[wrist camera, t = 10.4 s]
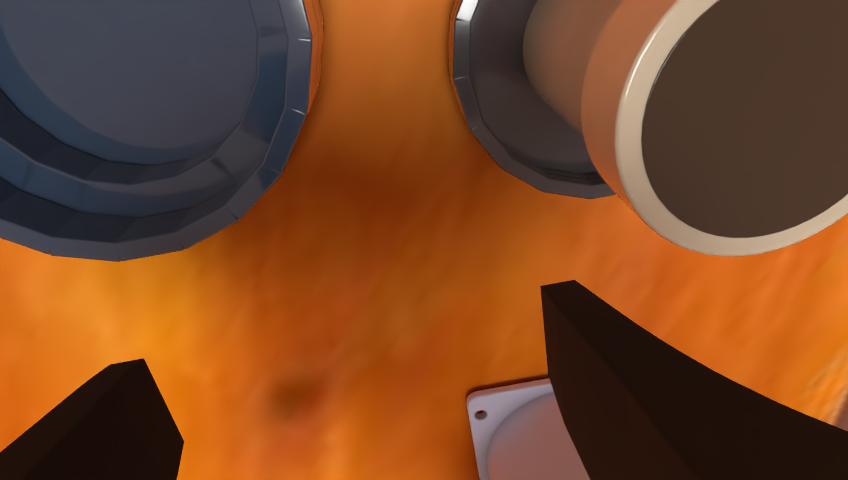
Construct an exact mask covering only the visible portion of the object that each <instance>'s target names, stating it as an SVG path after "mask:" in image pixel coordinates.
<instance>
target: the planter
mask: <svg viewBox="0 0 848 480" xmlns="http://www.w3.org/2000/svg"><path fill="white" fill-rule="evenodd" d="M322 23H323V16H322V12H321V8H320V3H319V0H0V238H2V239H5V240H8V241H11V242H14V243H17V244H20V245H23V246H26V247H28V248H31V249H34V250H37V251H40V252H43V253H46V254H51V255H52V256H62V257H73V258H84V259H95V260H105V261H116V262H120V261H126V260H132V259H137V258H143V257H148V256H154V255H159V254H165V253H170V252H176V251H181V250H184V249H187V248H189V247H191V246H193V245H195V244H197V243H199V242H201V241H202V240H204V239H206V238H208V237H210V236H212V235H214V234H216V233H217V232H219V231H221V230H223V229H225V228H227V227H229V226H231V225H232V224H234V223H236V222H238V221H239V219H242V218H243V217H244V216H245V215H246V214H247V212H248V211H249V210H250V209H251V208H252V207H253V206H254V205H255V204H256V203H257V202H258V200H259V199H260V198H261V197H262V196H263V195H264V194H265V193H266V192H267V191H268V190H269V188H270V187H271V186H272V185H273V184H274V183H275V182H276V181H277V180H278V179H279V178H280V176H281V174H282V173H283V172H284V170H285V167H286V165H287V162H288V160H289V158H290V155H291V153H292V151H293V148H294V146H295V143H296V141H297V139H298V136H299V134H300V132H301V129H302V127H303V124H304V122H305V120H306V117H307V115H308V112H309V110H310V108H311V105H312V103H313V100H314V98H315V96H316V93H317V91H318V88H319V83H320V72H321V58H322V43H323V29H324V26H323V24H322Z"/></svg>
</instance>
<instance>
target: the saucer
mask: <svg viewBox="0 0 848 480" xmlns="http://www.w3.org/2000/svg"><path fill="white" fill-rule="evenodd" d="M536 2H537V0H455V1H454V4H453V8H452V12H451V17H450V26H449V38H448V56H449V72H450V73H449V75H450V78H451V81H452V84H453V88H454V91H455V94H456V97H457V100H458V103H459V106H460V108H461V111H462V114H463V118H464V120H465V122H466V124H467V126H468V128H469V130H470V132H471V133H472V134H473V135H474V137H475V138H476V139H477V140H478V141H479V143H480V144H481V145H482V146H483V148H484V149H485V150H486V151H487V153H488V154H489V155H490V156H491V157H492V159H493V160H494V161H495V162H496V164H497V165H498V166H499V167H500V168H501V169H502V170H504V171H506V172H508V173H509V174H511V175H513V176H515V177H517V178H518V179H520V180H522V181H524V182H525V183H527V184H529V185H531V186H533V187H534V188H536V189H538V190H540V191H543V192H546V193H553V194H559V195H566V196H572V197H579V198H586V199H594V198H600V197H605V196H611V195H616V193H615V192H614V191H613V190H612V189H611V188H610V187H609V186H608V185H607V183H606V182H605V181H604V180H603V179H602V178H601V176H600V174H599V173H598V171H597V170H596V168H595V166H594V165H593V163H592V160H591V158H590V156H589V153H588V151H587V148H586V144H585V140H584V138H583V137H582V136H581V135H580V134H579V133H578V132H577V131H575V130H574V129H573V128H572V127H571V126H570V125H569V124H568V123H567V122H565V121H564V120H563V119H562V118H561V117H560V116H559V115H558V114H557V113H555V112H554V111H553V110H552V109H551V108H550V107H549V106H548V105H547V104H546V103H544V102H543V101H542V100H541V98H540V97H539V96H538V95H537V94H536V92H535V91H534V89H533V87H532V86H531V84H530V82H529V79H528V77H527V74H526V70H525V67H524V60H523V39H524V33H525V28H526V24H527V21H528V19H529V16H530V13H531V11H532V9H533V7H534V5H535V3H536Z"/></svg>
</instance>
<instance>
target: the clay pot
mask: <svg viewBox="0 0 848 480" xmlns="http://www.w3.org/2000/svg"><path fill="white" fill-rule="evenodd" d="M523 60H524V67H525V70H526V74H527V77H528V79H529V82H530V84H531V86H532V87H533V89H534V91H535V92H536V94H537V95H538V96H539V97H540V98H541V100H542V101H543V102H544V103H546V104H547V105H548V106H549V107H550V108H551V109H552V110H553V111H554V112H555V113H557V114H558V115H559V116H560V117H561V118H562V119H563V120H564V121H565V122H567V123H568V124H569V125H570V126H571V127H572V128H573V129H574V130H575V131H577V132H578V133H579V134H580V135H581V136H582V137H583V138H584V140H585V144H586V148H587V151H588V153H589V156H590V158H591V160H592V163H593V165H594V166H595V168H596V170H597V171H598V173H599V174H600V176H601V178H602V179H603V180H604V181H605V182H606V183H607V185H608V186H609V187H610V188H611V189H612V190H613V191H614V192H615V193H616V194H617V195H618V196H619V197H620V198H621V199H622V200H623V201H624V202H625V203H626V204H627V205H628V206H629V207H630V208H631V209H632V210H633V211H634V212H635V213H636V215H637V216H638V217H639V218H640V219H641V220H642V221H643V222H644V223H645V224H646V225H648V226H649V227H650V228H651V229H652V230H653V231H655V232H656V233H657V234H658V235H660V236H661V237H663V238H665V239H666V240H668V241H670V242H671V243H673V244H675V245H678V246H680V247H683V248H685V249H687V250H691V251H695V252H699V253H703V254H709V255H717V256H746V255H754V254H761V253H765V252H769V251H773V250H778V249H781V248H783V247H786V246H789V245H792V244H795V243H797V242H800V241H802V240H804V239H806V238H808V237H810V236H813V235H815V234H817V233H818V232H820V231H822V230H823V229H825V228H827V227H829V226H830V225H832V224H834V223H835V222H836V221H838V220H839V219H841V218H842V217H843V216H845V215H846V214H848V0H537V2H536V3H535V5H534V7H533V9H532V11H531V13H530V16H529V19H528V21H527V24H526V28H525V33H524V39H523Z"/></svg>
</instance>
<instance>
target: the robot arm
mask: <svg viewBox="0 0 848 480" xmlns="http://www.w3.org/2000/svg"><path fill="white" fill-rule="evenodd" d="M541 297H542V308H543V319H544V331H545V342H546V354H547V365H548V376H549V378H547V379H542V380H536V381H531V382H525V383H519V384H514V385H508V386H503V387H497V388H492V389H486V390H480V391H476V392H473V393H471V394H470V395H468V397H467V399H466V404H467V410H468V416H469V421H470V427H471V433H472V439H473V444H474V450H475V456H476V461H477V467H478V473H479V479H480V480H848V431H845V430H843V429H840V428H837V427H835V426H833V425H830V424H828V423H825V422H823V421H820V420H818V419H815V418H813V417H810V416H808V415H805V414H803V413H801V412H798V411H796V410H794V409H791V408H789V407H787V406H785V405H782V404H780V403H778V402H776V401H773V400H771V399H769V398H767V397H765V396H763V395H761V394H759V393H757V392H755V391H753V390H751V389H749V388H747V387H745V386H742V385H740V384H738V383H736V382H734V381H732V380H730V379H728V378H726V377H724V376H723V375H721V374H719V373H717V372H715V371H713V370H711V369H709V368H708V367H706V366H704V365H703V364H701V363H699V362H697V361H696V360H694V359H692V358H690V357H689V356H687V355H685V354H683V353H682V352H680V351H678V350H677V349H675V348H673V347H672V346H670V345H668V344H667V343H665V342H664V341H662V340H660V339H659V338H657V337H656V336H654V335H653V334H651V333H650V332H648V331H646V330H645V329H643V328H642V327H640V326H639V325H637V324H636V323H634V322H633V321H632V320H630V319H629V318H627V317H626V316H624V315H623V314H621V313H620V312H619V311H617V310H616V309H614V308H613V307H612V306H610V305H609V304H607V303H606V302H605V301H603V300H602V299H600V298H599V297H598V296H596V295H595V294H594V293H592V292H591V291H589V290H588V289H587V288H585V287H584V286H582V285H581V284H580V283H578V282H577V281H575V280H571V281H566V282H560V283H555V284H549V285H544V286H541ZM480 410H483V411H484V412H482V413H476V412H477V411H480ZM183 444H184V441H183V438H182V436H181V434H180V432H179V430H178V428H177V426H176V424H175V422H174V420H173V418H172V416H171V414H170V412H169V410H168V408H167V405H166V403H165V401H164V399H163V397H162V395H161V393H160V391H159V389H158V387H157V385H156V383H155V381H154V379H153V377H152V374H151V372H150V370H149V368H148V366H147V364H146V362H145V360H144V359H138V360H133V361H127V362H122V363H116V364H111V365H109V366H108V367H106V368H105V369H103V370H102V371H100V372H99V373H98V374H96V375H95V376H93V377H92V378H91V379H90V380H88V381H87V382H86V383H84V384H83V385H82V386H81V387H79V388H78V389H77V390H76V391H74V392H73V393H72V394H71V395H69V396H68V397H67V398H66V399H64V400H63V401H62V402H61V403H60V404H58V405H57V406H56V407H55V408H54V409H52V410H51V411H50V412H49V413H48V414H46V415H45V416H44V417H43V418H41V419H40V420H39V421H38V422H37V423H35V424H34V425H33V426H32V427H31V428H29V429H28V430H27V431H26V432H25V433H23V434H22V435H21V436H20V437H18V438H17V439H16V440H15V441H14V442H12V443H11V444H10V445H9V446H8V447H6V448H5V449H4V450H3V451H1V452H0V480H176V479H177V475H178V470H179V465H180V460H181V455H182V449H183Z"/></svg>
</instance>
